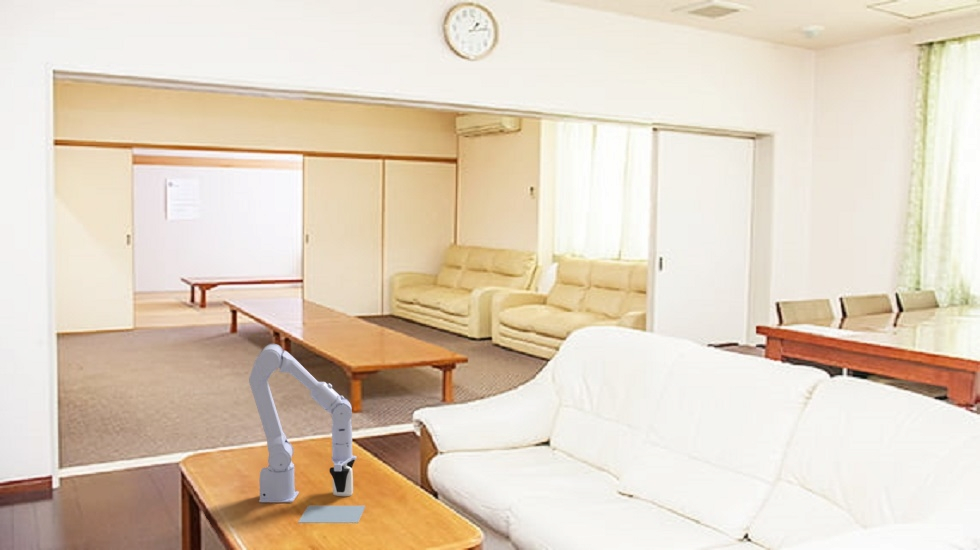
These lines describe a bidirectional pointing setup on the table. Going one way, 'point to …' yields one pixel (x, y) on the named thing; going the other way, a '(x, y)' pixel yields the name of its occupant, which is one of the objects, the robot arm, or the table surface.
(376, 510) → the table surface
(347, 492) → the eye dropper bottle
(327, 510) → the mat
